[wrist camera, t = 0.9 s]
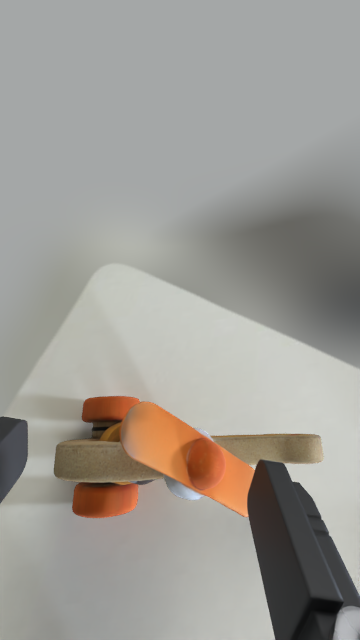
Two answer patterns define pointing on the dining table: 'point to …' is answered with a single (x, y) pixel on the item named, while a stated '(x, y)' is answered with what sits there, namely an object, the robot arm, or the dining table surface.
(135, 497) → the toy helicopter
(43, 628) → the dining table surface
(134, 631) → the dining table surface
